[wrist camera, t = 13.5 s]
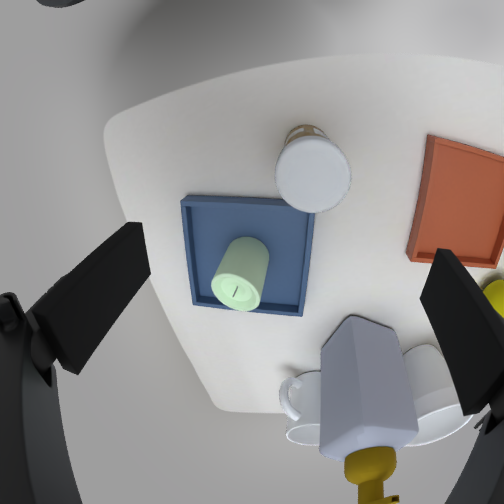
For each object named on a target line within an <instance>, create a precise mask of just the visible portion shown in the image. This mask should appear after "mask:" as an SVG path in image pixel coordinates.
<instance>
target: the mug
mask: <svg viewBox="0 0 504 504" xmlns="http://www.w3.org/2000/svg"><path fill="white" fill-rule="evenodd" d="M290 386H291V391H290V400H289V396H288V390H289V387H290ZM279 399H280V403H281V406H282V408H283V410H284V412H285V413H286V414H287V415H288V421H287V430H286V437H287V438H288V439H289V440H290V441H292V442H294V443H297V444H302V445H319V443H320V409H321V372H318V371H315V372H308V373H304V374H302V375H300V376H298V377H297V378H294V377H290V378H287V379H285V380H284V381H283V382H282V384H281V386H280V390H279Z"/></svg>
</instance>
